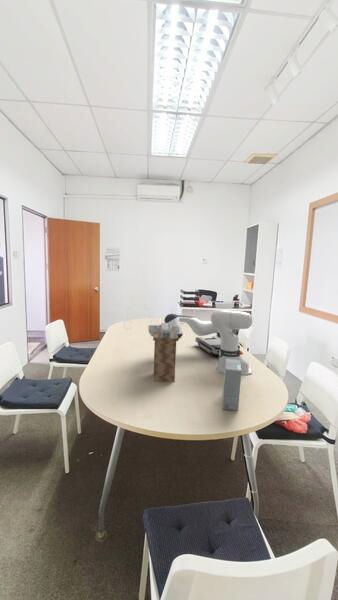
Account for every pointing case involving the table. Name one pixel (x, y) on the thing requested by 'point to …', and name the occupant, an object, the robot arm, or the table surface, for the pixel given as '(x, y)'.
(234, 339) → the robot arm
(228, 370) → the hard drive box
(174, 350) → the walnut stand
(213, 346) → the game console
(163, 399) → the table surface
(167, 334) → the link bar
